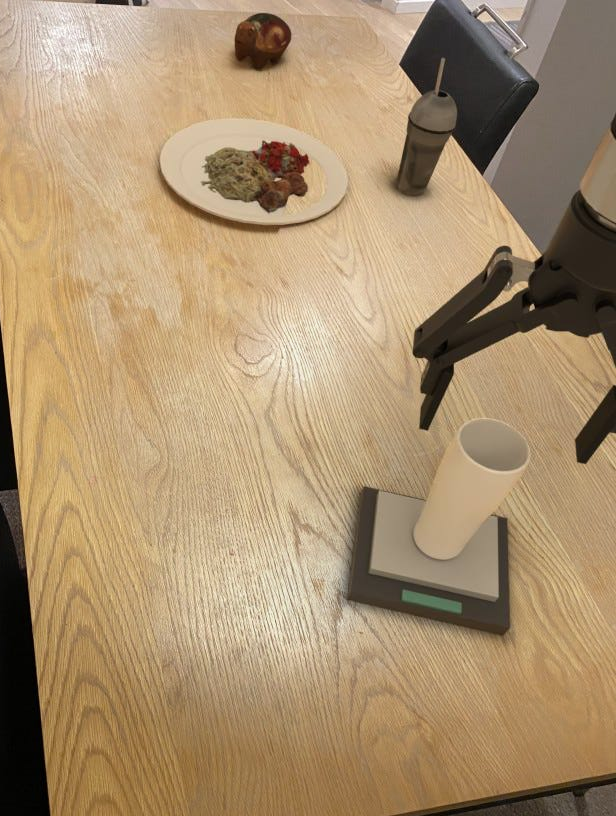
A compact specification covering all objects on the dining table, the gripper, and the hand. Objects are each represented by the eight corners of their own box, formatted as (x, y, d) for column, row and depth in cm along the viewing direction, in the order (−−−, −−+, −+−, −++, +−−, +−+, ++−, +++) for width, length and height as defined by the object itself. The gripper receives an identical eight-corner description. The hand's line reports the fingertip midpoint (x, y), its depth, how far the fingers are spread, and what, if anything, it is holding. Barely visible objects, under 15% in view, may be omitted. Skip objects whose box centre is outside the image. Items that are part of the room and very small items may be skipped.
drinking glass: (421, 574, 76) (478, 479, 64) (394, 520, 80) (443, 421, 68) (480, 561, 78) (546, 467, 66) (450, 509, 81) (508, 411, 69)
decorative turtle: (215, 64, 143) (220, 15, 137) (260, 47, 151) (266, -1, 145) (257, 80, 140) (264, 30, 133) (301, 62, 148) (309, 14, 142)
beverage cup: (430, 209, 121) (478, 76, 105) (385, 201, 121) (426, 66, 105) (430, 185, 125) (476, 53, 109) (386, 177, 126) (426, 44, 109)
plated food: (130, 200, 115) (130, 179, 112) (196, 112, 132) (197, 92, 129) (320, 255, 111) (325, 234, 109) (362, 158, 128) (368, 138, 126)
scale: (498, 531, 85) (511, 512, 82) (500, 639, 77) (514, 623, 74) (358, 499, 86) (366, 480, 83) (345, 604, 78) (353, 586, 75)
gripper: (438, 202, 47) (355, 436, 64) (849, 283, 46) (651, 499, 63) (442, 142, 51) (363, 376, 68) (818, 214, 50) (641, 434, 67)
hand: (501, 435), depth 66 cm, fingers open, 13 cm apart
